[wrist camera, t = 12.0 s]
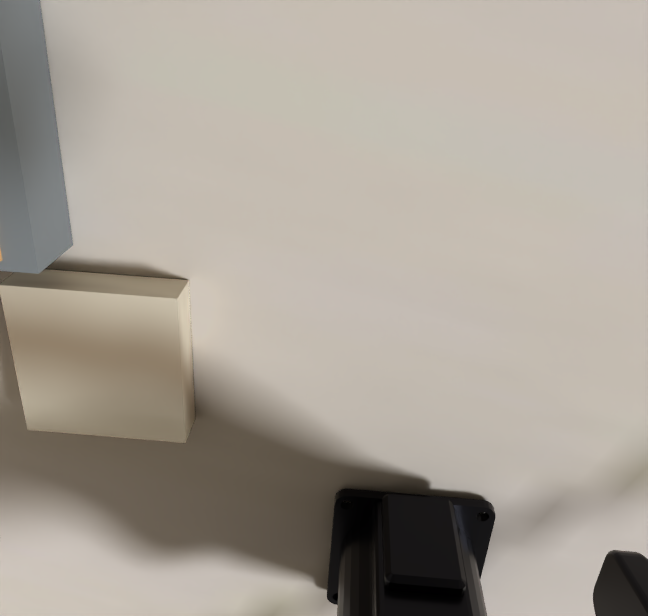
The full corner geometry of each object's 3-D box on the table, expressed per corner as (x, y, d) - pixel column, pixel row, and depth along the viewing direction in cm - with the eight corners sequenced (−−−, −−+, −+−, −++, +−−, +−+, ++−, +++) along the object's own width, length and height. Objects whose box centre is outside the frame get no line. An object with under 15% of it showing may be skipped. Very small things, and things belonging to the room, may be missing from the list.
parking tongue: (195, 418, 24) (185, 443, 23) (45, 406, 25) (27, 429, 23) (189, 280, 22) (177, 298, 20) (20, 267, 22) (-2, 284, 20)
